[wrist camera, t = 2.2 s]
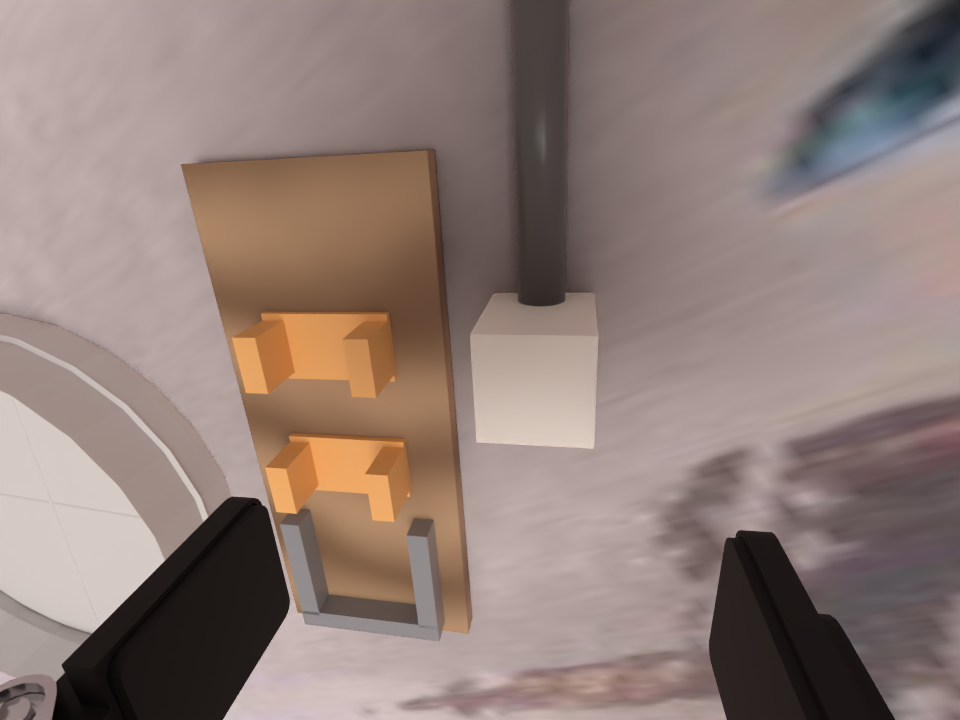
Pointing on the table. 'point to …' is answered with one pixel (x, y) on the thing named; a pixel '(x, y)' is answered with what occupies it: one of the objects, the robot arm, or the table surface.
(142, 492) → the dish
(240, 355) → the clip
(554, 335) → the connector
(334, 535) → the board
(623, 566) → the table surface
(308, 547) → the end holder
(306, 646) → the table surface
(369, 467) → the clip
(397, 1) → the table surface
